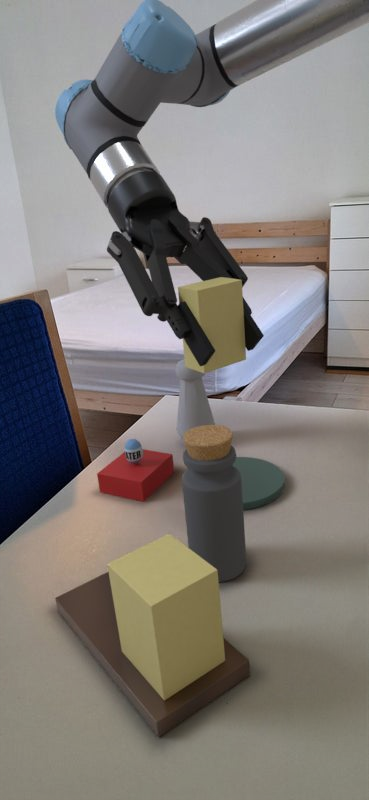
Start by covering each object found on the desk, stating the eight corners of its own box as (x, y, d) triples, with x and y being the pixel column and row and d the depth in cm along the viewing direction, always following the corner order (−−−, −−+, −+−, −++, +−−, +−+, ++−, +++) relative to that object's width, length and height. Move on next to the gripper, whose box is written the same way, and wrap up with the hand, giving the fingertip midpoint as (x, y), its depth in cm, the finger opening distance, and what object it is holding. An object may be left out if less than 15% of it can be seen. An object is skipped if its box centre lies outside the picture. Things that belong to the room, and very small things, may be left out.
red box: (143, 501, 75) (137, 457, 73) (100, 492, 79) (92, 449, 76) (174, 472, 82) (169, 430, 79) (132, 464, 85) (127, 424, 83)
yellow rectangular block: (226, 353, 70) (221, 276, 67) (246, 359, 67) (241, 279, 64) (185, 367, 67) (177, 286, 63) (204, 373, 64) (197, 290, 61)
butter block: (179, 618, 53) (169, 533, 50) (225, 660, 48) (217, 569, 45) (121, 651, 50) (106, 563, 47) (164, 701, 45) (151, 606, 42)
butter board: (136, 570, 63) (134, 558, 62) (250, 674, 49) (249, 660, 48) (57, 610, 58) (54, 597, 57) (158, 737, 44) (156, 722, 43)
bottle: (181, 558, 64) (167, 431, 58) (230, 541, 66) (221, 417, 60) (205, 590, 59) (192, 454, 53) (256, 571, 61) (249, 438, 55)
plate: (242, 454, 85) (241, 448, 84) (304, 485, 75) (304, 478, 75) (173, 485, 79) (172, 478, 78) (231, 522, 69) (230, 514, 69)
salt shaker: (193, 431, 94) (185, 352, 89) (223, 438, 90) (217, 356, 86) (170, 446, 89) (161, 364, 85) (202, 454, 86) (194, 369, 81)
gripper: (187, 207, 78) (280, 348, 72) (54, 226, 69) (147, 392, 62) (209, 161, 72) (312, 311, 66) (67, 175, 63) (171, 353, 56)
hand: (232, 350), depth 64 cm, fingers closed on yellow rectangular block, 6 cm apart
